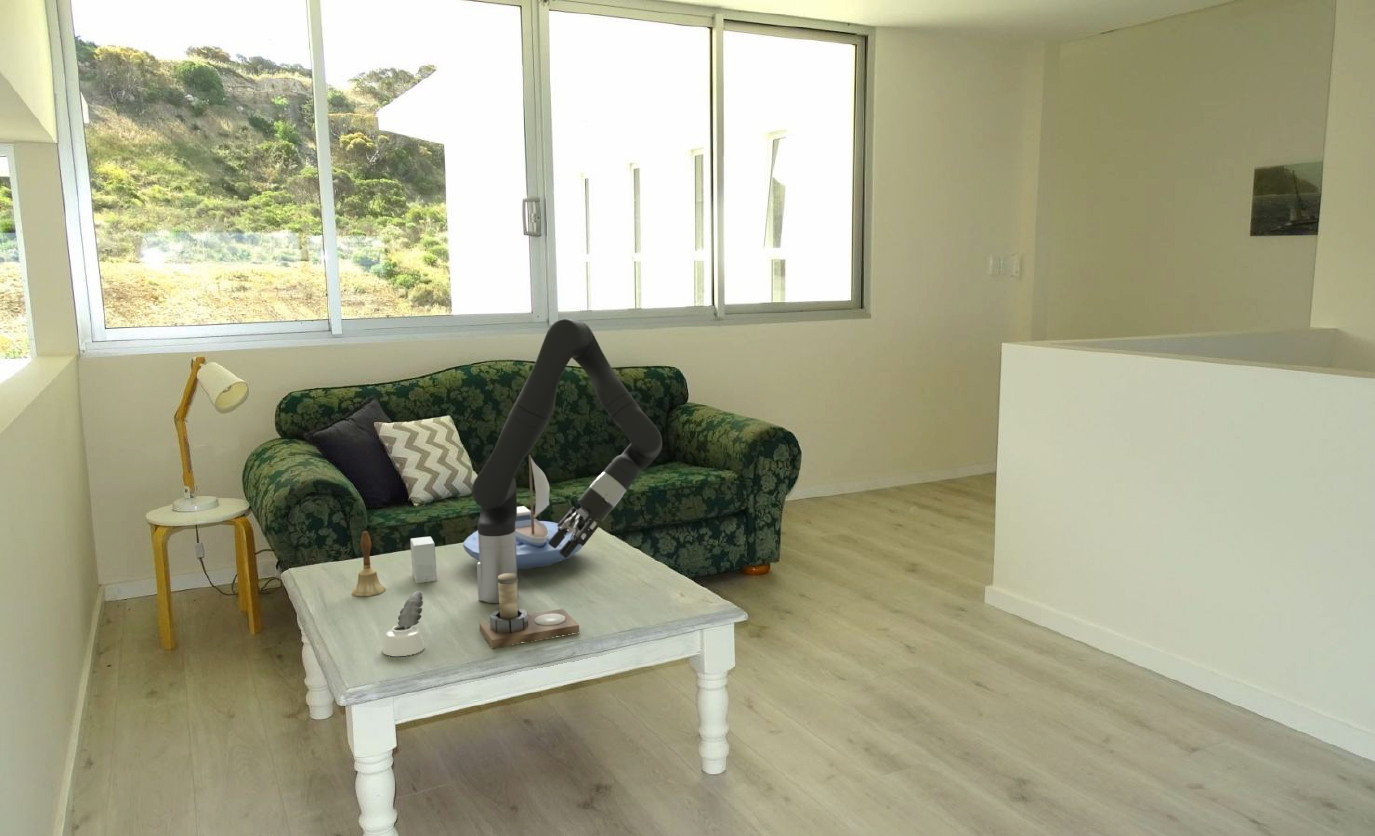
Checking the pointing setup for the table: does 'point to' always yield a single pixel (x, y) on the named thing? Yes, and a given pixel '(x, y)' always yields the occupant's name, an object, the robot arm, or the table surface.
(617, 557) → the table surface
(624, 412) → the robot arm
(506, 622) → the ring
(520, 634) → the walnut board
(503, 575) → the wooden peg
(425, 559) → the small box
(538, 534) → the sailboat
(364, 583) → the hand bell
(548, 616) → the rest disc
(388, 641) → the inkwell
